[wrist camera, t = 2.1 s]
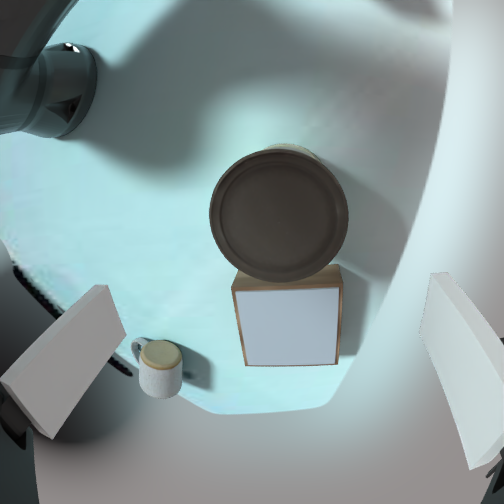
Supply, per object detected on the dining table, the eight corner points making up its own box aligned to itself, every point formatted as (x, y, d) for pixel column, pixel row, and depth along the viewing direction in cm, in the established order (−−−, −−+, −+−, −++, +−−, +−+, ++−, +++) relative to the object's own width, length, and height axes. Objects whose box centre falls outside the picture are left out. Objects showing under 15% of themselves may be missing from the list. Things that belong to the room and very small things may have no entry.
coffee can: (346, 178, 32) (376, 209, 20) (293, 242, 37) (290, 305, 24) (275, 124, 31) (260, 119, 18) (225, 194, 35) (184, 233, 23)
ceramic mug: (189, 344, 46) (172, 376, 39) (187, 375, 50) (173, 405, 43) (133, 325, 47) (111, 353, 40) (136, 357, 50) (117, 384, 43)
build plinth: (238, 268, 39) (230, 288, 34) (338, 264, 37) (343, 284, 32) (250, 343, 44) (244, 367, 39) (335, 341, 42) (338, 365, 37)
